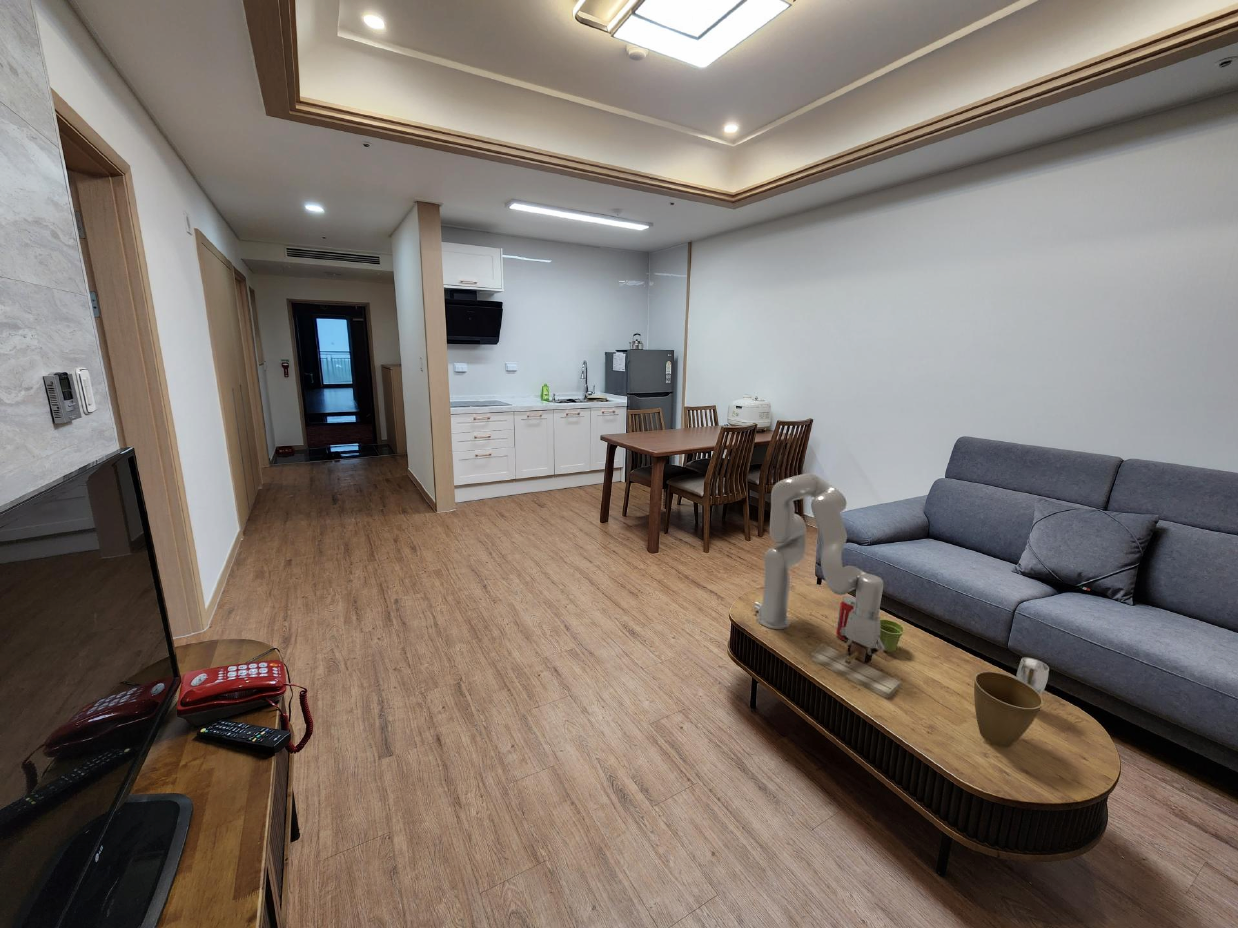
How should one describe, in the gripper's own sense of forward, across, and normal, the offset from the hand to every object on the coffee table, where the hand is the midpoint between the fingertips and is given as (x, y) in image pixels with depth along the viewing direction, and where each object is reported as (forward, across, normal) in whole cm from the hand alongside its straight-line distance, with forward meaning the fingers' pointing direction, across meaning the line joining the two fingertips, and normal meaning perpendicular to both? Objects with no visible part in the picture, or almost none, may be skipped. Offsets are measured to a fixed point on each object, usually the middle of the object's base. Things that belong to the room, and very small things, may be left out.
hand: (858, 657), depth 172 cm
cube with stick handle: (+1, 0, -4) cm, 4 cm away
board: (+2, +2, -7) cm, 8 cm away
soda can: (+2, -10, +12) cm, 15 cm away
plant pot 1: (+2, +2, +17) cm, 17 cm away
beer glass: (+2, +42, +18) cm, 46 cm away
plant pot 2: (+2, +40, -4) cm, 41 cm away
